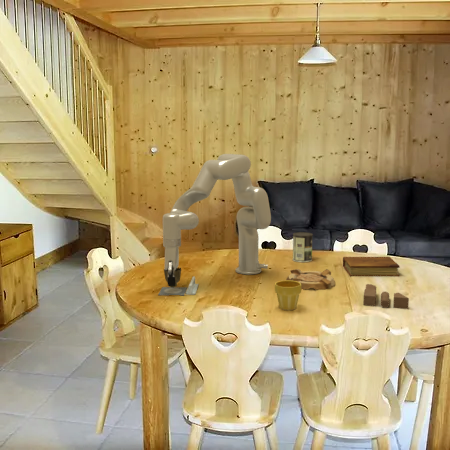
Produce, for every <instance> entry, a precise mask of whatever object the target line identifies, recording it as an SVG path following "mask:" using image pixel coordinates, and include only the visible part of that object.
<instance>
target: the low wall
mask: <svg viewBox="0 0 450 450" xmlns="http://www.w3.org/2000/svg"><path fill="white" fill-rule="evenodd" d="M198 288H199V283H196V276H192V278H191V280H190V282H189V284H188V287H187V290H186V292H185V295H186V296H187V295H189V296H191V295H192V296H193V295H197V291H198Z"/></svg>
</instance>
